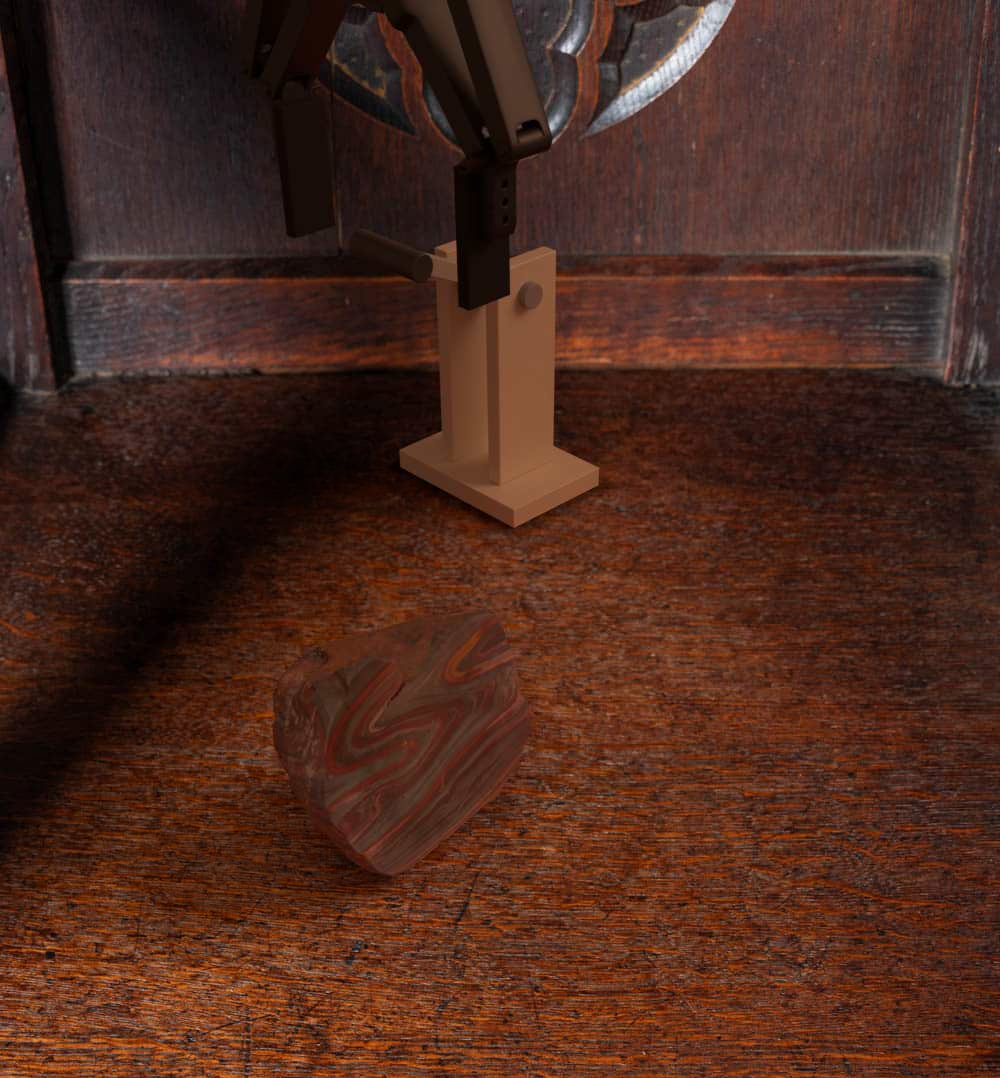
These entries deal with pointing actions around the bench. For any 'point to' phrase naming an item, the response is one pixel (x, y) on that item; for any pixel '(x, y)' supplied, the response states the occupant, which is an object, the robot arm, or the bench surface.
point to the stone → (401, 733)
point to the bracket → (500, 400)
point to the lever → (401, 258)
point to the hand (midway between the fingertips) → (393, 264)
